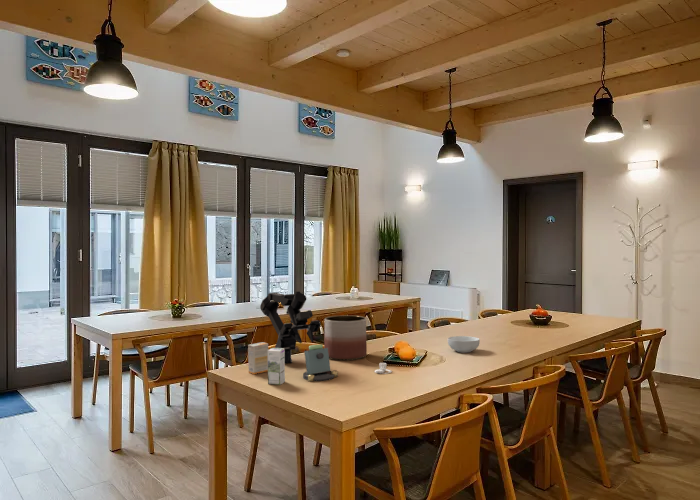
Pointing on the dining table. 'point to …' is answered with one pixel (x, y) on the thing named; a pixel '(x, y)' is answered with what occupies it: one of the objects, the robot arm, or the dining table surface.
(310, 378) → the base
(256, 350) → the supplement box
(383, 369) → the white lobed piece
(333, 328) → the planter
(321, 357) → the grey upright slab
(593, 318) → the dining table surface
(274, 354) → the syrup box
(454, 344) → the cereal bowl
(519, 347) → the dining table surface
